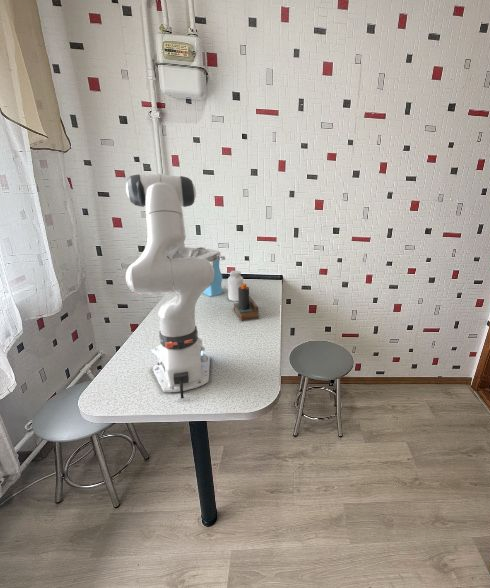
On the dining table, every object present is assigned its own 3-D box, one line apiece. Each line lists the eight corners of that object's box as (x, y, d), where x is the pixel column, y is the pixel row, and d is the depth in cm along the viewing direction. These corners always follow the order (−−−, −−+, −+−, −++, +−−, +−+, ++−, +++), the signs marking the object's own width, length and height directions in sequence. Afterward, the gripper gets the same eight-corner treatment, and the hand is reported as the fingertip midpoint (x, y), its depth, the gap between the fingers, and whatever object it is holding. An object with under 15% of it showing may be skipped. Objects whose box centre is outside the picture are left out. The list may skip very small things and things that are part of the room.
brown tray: (258, 318, 155) (258, 306, 153) (241, 321, 152) (241, 309, 149) (250, 307, 167) (249, 296, 164) (234, 309, 163) (233, 298, 161)
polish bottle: (250, 309, 157) (250, 285, 152) (240, 310, 155) (239, 286, 150) (248, 305, 161) (247, 282, 156) (237, 306, 159) (236, 283, 154)
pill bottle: (246, 299, 175) (245, 273, 169) (231, 302, 170) (230, 275, 165) (240, 294, 181) (239, 268, 175) (226, 297, 176) (224, 270, 171)
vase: (202, 293, 180) (199, 257, 173) (213, 289, 186) (211, 255, 179) (211, 296, 176) (209, 260, 169) (223, 292, 182) (221, 257, 175)
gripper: (177, 256, 145) (206, 260, 142) (204, 246, 163) (229, 249, 160) (179, 270, 147) (207, 274, 144) (205, 258, 165) (230, 262, 163)
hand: (219, 261), depth 152 cm, fingers open, 8 cm apart
